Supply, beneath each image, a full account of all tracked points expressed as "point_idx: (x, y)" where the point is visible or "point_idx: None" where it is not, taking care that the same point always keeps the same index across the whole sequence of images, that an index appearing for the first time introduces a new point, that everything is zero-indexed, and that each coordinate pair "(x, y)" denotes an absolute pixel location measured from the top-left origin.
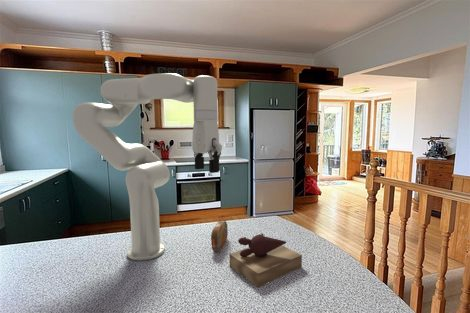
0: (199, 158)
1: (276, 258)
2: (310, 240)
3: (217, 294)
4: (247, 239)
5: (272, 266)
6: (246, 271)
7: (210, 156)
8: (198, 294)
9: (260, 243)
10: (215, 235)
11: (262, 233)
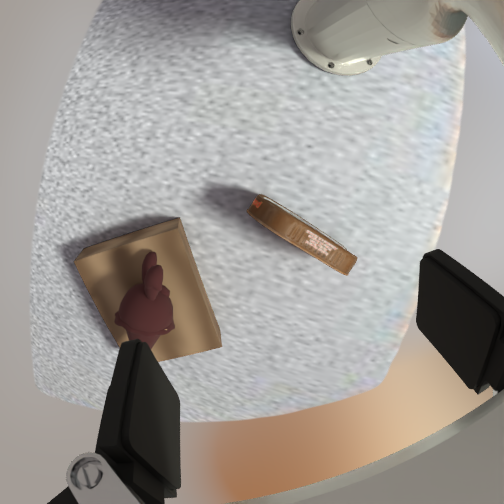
0: (480, 350)
1: None
2: (235, 405)
3: (80, 163)
4: (148, 291)
5: (95, 299)
6: (112, 244)
7: (101, 489)
8: (91, 124)
9: (122, 312)
10: (264, 216)
11: (147, 336)
